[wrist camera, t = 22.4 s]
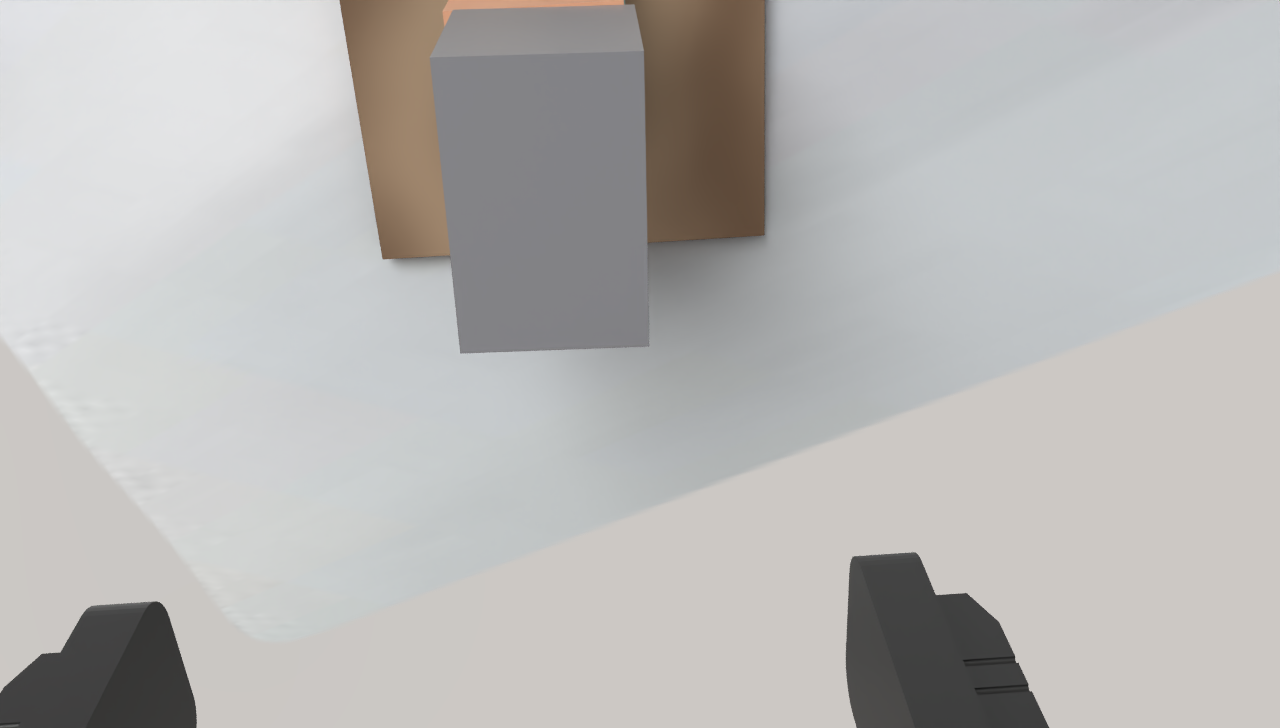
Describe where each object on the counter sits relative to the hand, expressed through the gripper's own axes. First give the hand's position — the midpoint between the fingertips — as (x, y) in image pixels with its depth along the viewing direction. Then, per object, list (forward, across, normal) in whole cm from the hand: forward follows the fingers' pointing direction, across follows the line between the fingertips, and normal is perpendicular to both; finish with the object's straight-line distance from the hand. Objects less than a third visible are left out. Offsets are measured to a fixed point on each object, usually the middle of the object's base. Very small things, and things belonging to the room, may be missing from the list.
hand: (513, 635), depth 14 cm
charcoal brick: (+19, 0, 0) cm, 19 cm away
